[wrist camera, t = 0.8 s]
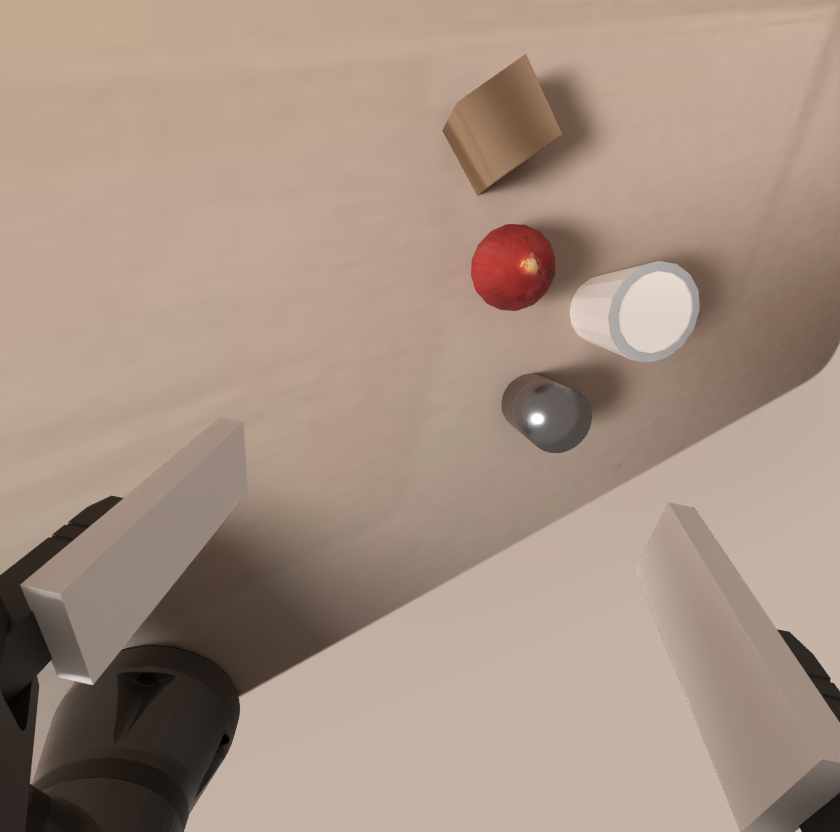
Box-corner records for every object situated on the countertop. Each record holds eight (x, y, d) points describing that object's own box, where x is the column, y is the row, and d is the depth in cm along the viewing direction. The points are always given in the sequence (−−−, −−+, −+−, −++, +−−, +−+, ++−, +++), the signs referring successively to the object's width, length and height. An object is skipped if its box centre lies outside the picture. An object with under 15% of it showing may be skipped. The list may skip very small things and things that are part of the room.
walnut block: (477, 195, 33) (497, 179, 28) (442, 131, 31) (457, 102, 27) (532, 157, 33) (562, 134, 28) (499, 90, 31) (525, 53, 26)
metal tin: (518, 439, 39) (547, 465, 33) (491, 395, 37) (515, 414, 32) (565, 408, 39) (602, 428, 33) (540, 362, 37) (573, 375, 31)
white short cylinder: (636, 346, 38) (695, 358, 31) (561, 353, 37) (606, 367, 31) (641, 263, 36) (706, 257, 29) (563, 269, 35) (611, 264, 29)
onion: (543, 251, 35) (596, 239, 27) (512, 319, 36) (555, 327, 28) (479, 219, 33) (515, 197, 26) (449, 291, 34) (475, 291, 27)
